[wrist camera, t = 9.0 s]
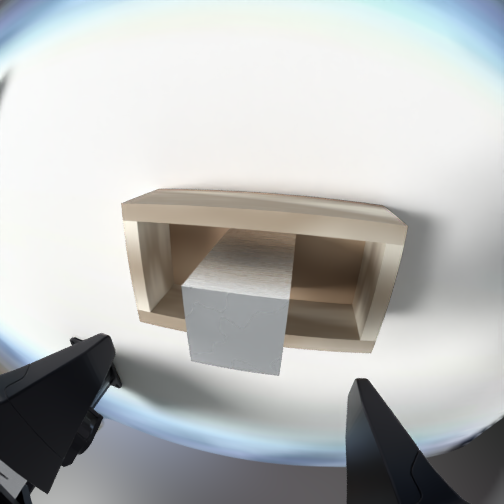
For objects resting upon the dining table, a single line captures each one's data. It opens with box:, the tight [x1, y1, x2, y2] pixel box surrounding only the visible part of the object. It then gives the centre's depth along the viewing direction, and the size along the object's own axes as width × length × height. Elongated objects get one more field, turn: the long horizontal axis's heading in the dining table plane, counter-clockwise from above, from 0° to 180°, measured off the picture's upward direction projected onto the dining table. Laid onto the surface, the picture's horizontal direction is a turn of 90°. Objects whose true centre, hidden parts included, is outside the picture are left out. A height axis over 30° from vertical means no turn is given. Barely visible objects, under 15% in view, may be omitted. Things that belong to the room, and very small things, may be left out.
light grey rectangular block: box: [182, 228, 296, 376], centre depth 14 cm, size 4×4×8 cm
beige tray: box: [121, 189, 408, 353], centre depth 16 cm, size 8×15×4 cm, turn 88°
